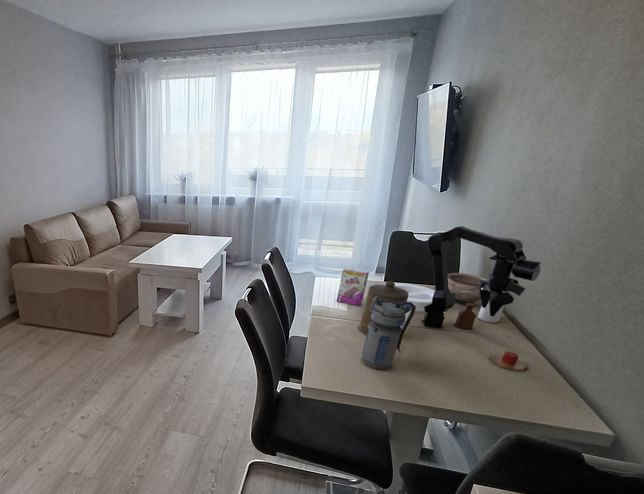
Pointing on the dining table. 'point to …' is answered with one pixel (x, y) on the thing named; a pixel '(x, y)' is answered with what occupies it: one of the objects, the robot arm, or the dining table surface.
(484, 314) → the milk bottle
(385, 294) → the wooden container
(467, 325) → the bottle
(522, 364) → the coaster
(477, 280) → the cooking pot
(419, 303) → the white circle with bar
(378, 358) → the beverage bottle
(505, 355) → the red toy block
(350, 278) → the candy bar box
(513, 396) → the dining table surface
